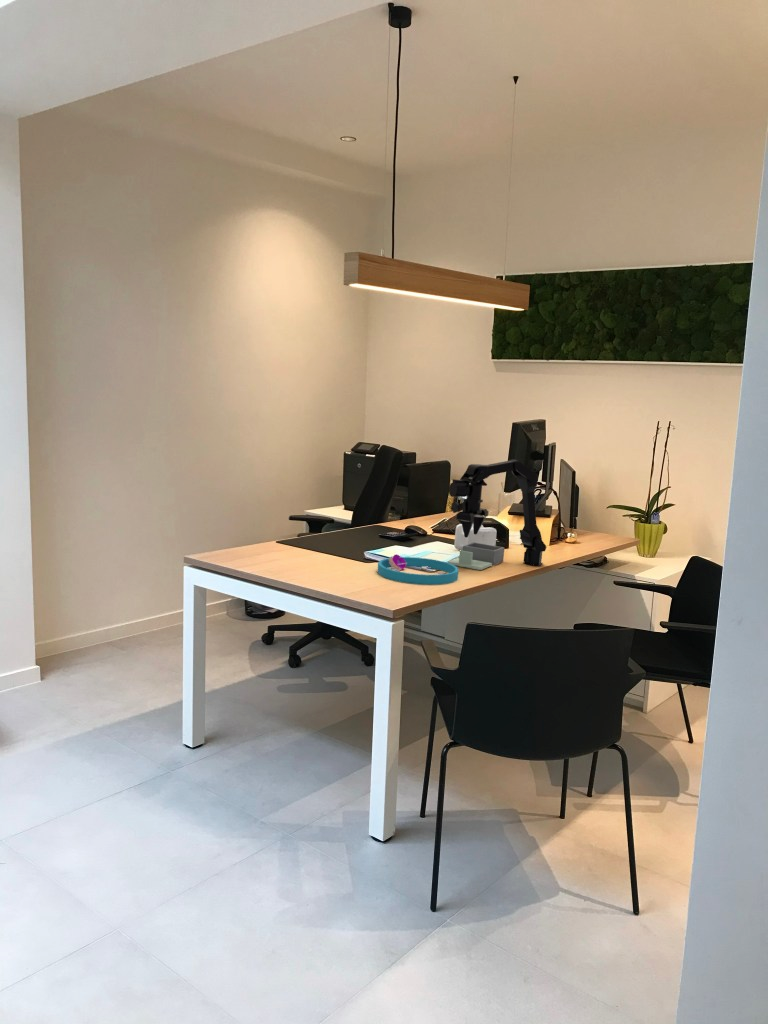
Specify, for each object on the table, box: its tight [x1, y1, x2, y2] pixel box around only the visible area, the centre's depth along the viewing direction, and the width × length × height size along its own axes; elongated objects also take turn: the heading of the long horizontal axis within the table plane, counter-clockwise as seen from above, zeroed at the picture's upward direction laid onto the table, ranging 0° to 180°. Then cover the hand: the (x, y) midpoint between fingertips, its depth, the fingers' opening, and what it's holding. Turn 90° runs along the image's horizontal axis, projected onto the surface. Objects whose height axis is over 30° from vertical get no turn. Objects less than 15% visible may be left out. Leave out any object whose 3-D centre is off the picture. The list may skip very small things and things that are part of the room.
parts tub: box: [462, 542, 505, 566], centre depth 341 cm, size 14×11×6 cm
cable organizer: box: [453, 523, 497, 551], centre depth 359 cm, size 15×11×12 cm
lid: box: [447, 550, 492, 571], centre depth 330 cm, size 14×11×7 cm
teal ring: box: [377, 554, 459, 586], centre depth 307 cm, size 30×30×6 cm
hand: (470, 535), depth 326 cm, fingers open, 9 cm apart
